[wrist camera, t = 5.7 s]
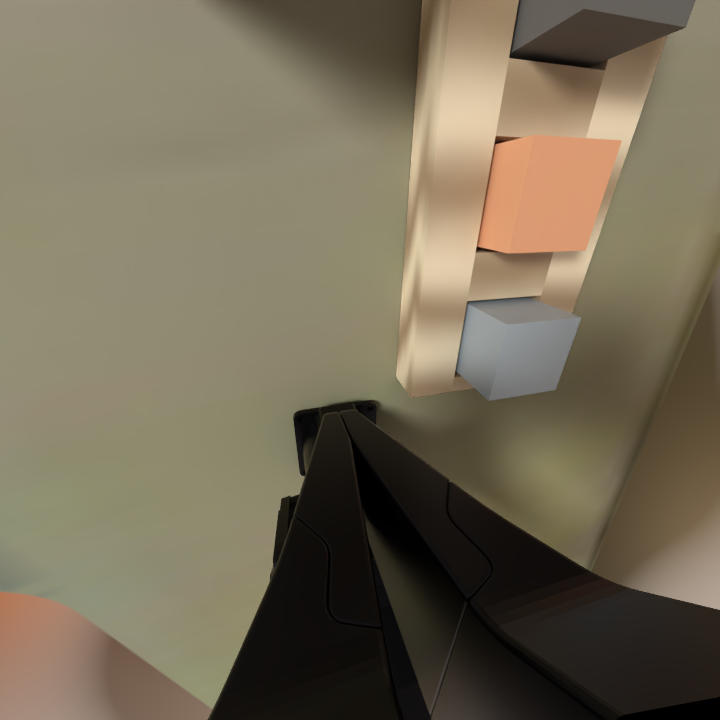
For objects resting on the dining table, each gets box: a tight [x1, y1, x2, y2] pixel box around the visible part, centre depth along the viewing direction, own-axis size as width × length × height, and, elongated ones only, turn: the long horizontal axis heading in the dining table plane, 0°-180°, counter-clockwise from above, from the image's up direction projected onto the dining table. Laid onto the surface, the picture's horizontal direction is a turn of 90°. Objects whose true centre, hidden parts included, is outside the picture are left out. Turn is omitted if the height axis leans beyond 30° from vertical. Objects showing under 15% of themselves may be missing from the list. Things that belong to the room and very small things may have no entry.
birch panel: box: [396, 0, 667, 398], centre depth 19 cm, size 25×12×3 cm, turn 0°
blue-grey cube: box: [455, 297, 582, 401], centre depth 20 cm, size 5×5×5 cm
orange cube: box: [477, 135, 622, 254], centre depth 17 cm, size 5×5×5 cm
